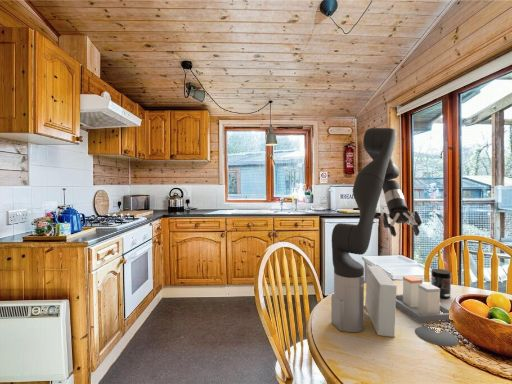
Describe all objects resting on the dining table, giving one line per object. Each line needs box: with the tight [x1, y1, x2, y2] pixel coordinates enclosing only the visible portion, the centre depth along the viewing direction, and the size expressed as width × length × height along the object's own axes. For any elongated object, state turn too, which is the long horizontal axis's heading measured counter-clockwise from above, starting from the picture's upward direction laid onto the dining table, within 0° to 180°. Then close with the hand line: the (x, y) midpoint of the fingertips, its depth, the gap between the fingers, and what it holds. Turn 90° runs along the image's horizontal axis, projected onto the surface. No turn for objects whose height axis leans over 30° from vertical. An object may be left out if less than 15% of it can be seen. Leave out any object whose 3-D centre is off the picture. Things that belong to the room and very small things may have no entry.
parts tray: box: [396, 293, 451, 324], centre depth 102 cm, size 18×14×2 cm
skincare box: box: [364, 265, 398, 338], centre depth 95 cm, size 21×6×16 cm, turn 168°
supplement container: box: [430, 268, 452, 300], centre depth 114 cm, size 7×7×10 cm
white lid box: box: [418, 283, 441, 315], centre depth 97 cm, size 5×5×10 cm
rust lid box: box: [402, 275, 423, 307], centre depth 106 cm, size 5×5×10 cm
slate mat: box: [414, 325, 459, 348], centre depth 84 cm, size 11×11×1 cm
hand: (406, 235), depth 114 cm, fingers open, 8 cm apart
